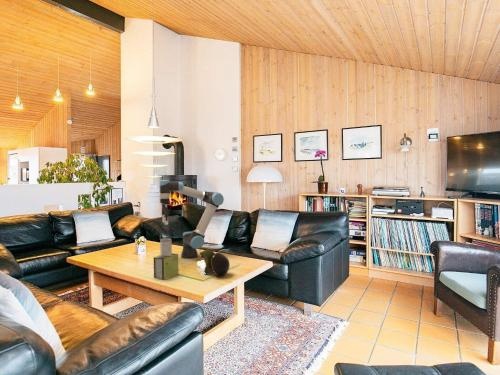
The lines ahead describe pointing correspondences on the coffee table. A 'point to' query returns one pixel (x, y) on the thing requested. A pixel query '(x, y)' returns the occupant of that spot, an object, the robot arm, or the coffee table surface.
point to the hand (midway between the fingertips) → (165, 223)
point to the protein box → (165, 266)
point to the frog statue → (215, 262)
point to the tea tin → (166, 247)
